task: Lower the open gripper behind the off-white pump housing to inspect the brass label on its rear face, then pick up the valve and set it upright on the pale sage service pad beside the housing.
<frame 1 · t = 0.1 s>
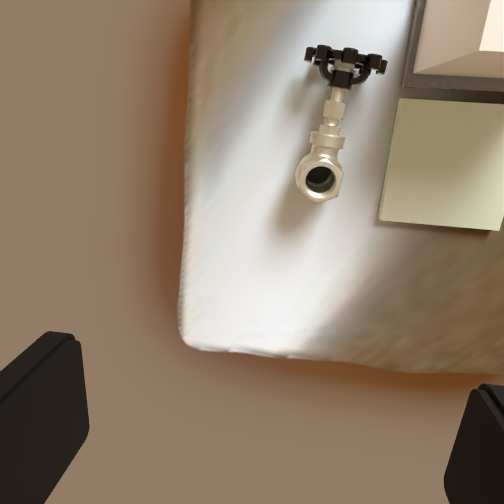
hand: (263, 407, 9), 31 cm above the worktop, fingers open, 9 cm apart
valve: (326, 129, 37), on the worktop
service pad: (447, 165, 36), on the worktop
pump housing: (477, 39, 33), on the worktop
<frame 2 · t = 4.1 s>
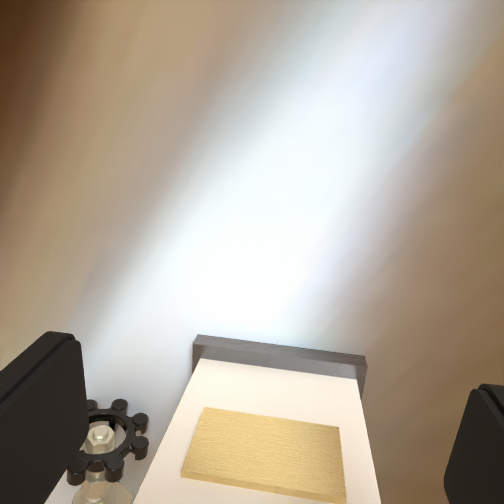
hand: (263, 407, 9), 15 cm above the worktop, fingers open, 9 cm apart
valve: (117, 457, 31), on the worktop
pump housing: (274, 395, 27), on the worktop
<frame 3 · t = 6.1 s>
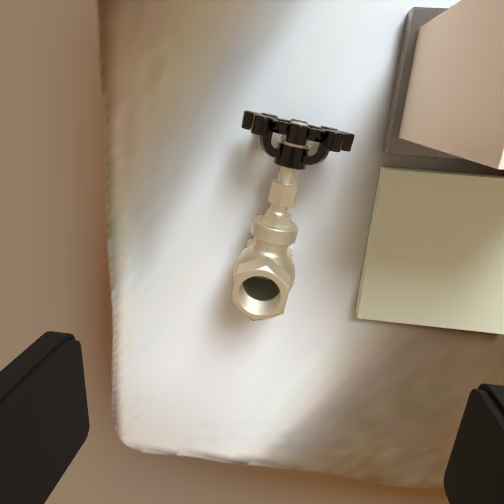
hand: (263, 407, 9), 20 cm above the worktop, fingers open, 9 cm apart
valve: (279, 205, 28), on the worktop
service pad: (445, 250, 28), on the worktop
pump housing: (486, 91, 24), on the worktop
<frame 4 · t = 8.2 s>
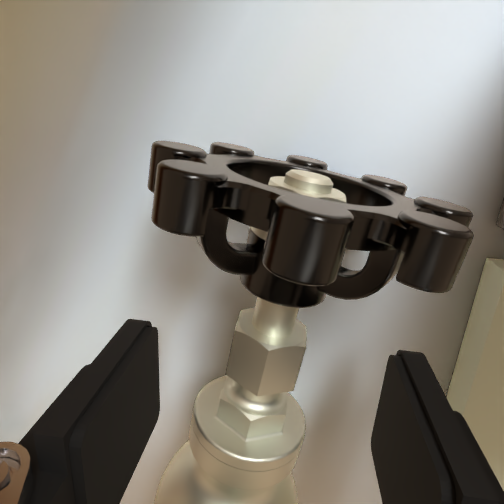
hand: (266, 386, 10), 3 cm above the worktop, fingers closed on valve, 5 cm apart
valve: (264, 331, 13), on the worktop, touching gripper
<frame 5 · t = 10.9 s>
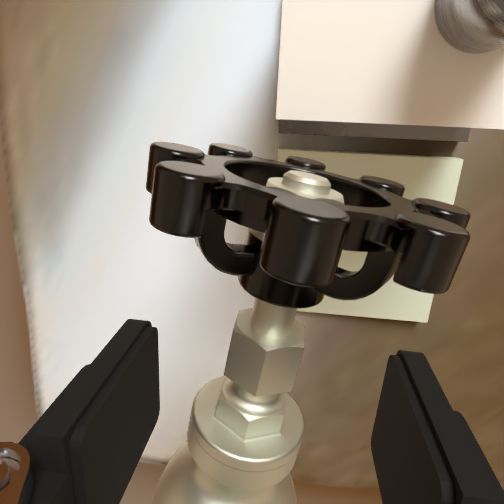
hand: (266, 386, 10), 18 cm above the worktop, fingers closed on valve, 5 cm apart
valve: (263, 332, 13), point 14 cm above the worktop, touching gripper
service pad: (354, 235, 26), on the worktop
pump housing: (377, 65, 23), on the worktop
when the fingers open (5 cm above the worktop, at t = 14.0 s): valve drops 1 cm, resting on service pad.
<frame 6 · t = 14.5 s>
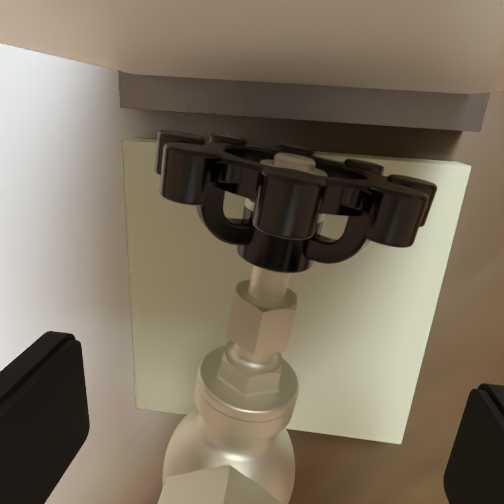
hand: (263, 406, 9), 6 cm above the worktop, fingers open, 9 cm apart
valve: (261, 308, 14), point 1 cm above the worktop, touching service pad
service pad: (277, 293, 15), on the worktop
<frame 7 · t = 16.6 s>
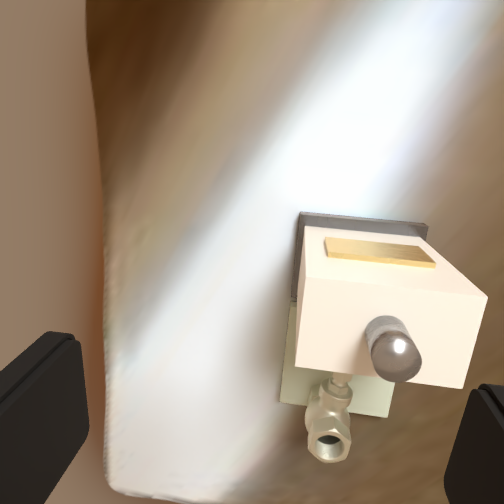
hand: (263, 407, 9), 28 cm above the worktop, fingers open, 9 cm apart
valve: (334, 364, 39), point 1 cm above the worktop, touching service pad
service pad: (339, 357, 39), on the worktop
pump housing: (354, 259, 36), on the worktop
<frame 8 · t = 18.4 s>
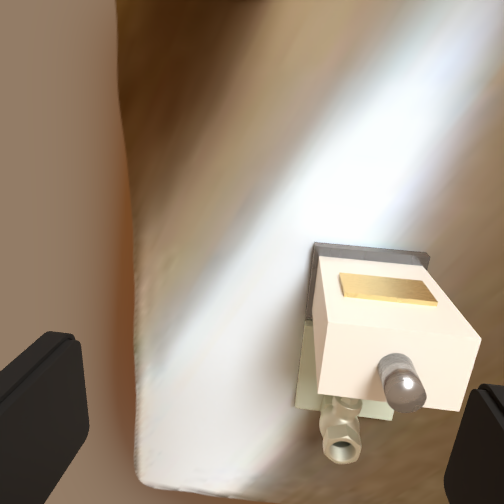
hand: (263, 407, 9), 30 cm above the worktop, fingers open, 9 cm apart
valve: (345, 375, 43), point 1 cm above the worktop, touching service pad
service pad: (348, 367, 44), on the worktop
pump housing: (363, 283, 40), on the worktop
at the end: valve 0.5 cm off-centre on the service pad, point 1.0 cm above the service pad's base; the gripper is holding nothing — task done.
